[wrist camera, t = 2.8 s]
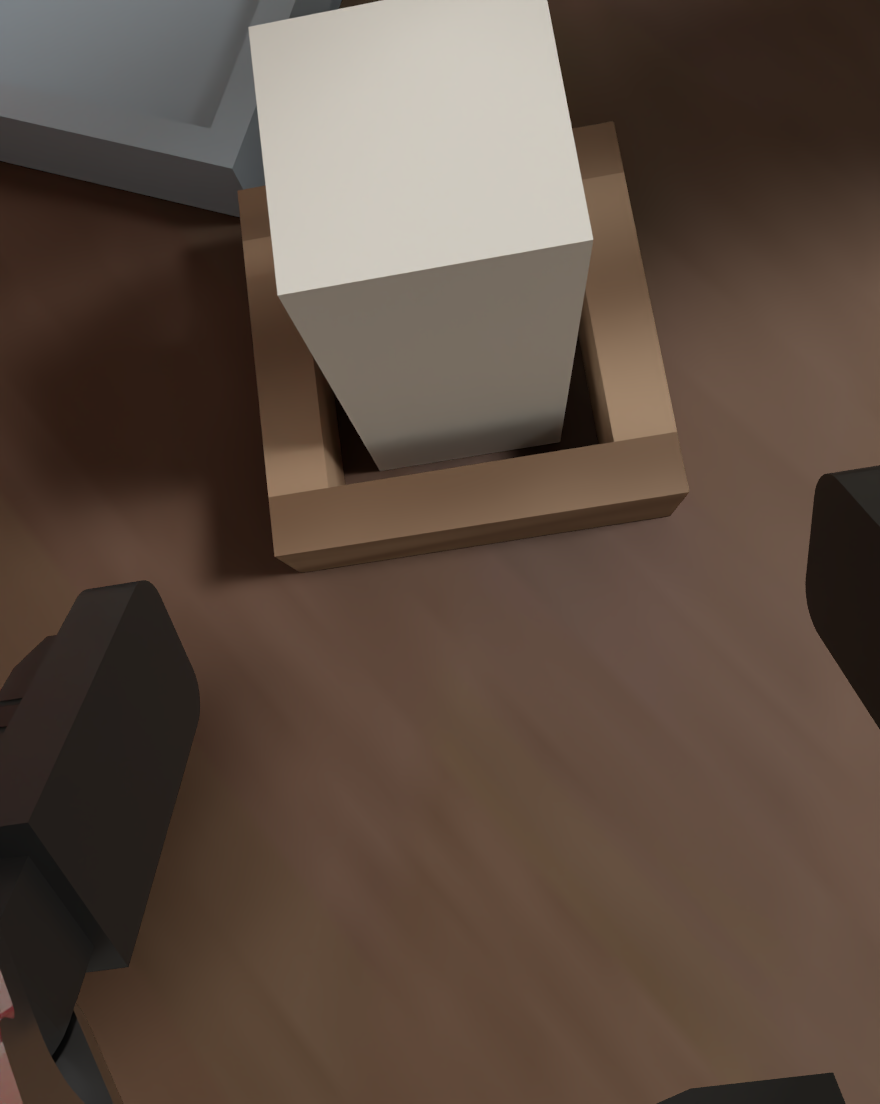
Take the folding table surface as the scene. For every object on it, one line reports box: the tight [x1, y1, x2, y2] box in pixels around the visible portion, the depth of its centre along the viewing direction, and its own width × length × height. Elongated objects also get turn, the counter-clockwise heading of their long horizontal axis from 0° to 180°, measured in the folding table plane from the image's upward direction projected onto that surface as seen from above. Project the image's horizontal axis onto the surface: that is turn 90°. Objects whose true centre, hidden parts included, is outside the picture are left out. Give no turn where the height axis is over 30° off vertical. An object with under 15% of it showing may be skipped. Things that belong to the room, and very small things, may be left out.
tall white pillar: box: [248, 0, 593, 471], centre depth 18 cm, size 6×5×10 cm
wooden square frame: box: [237, 121, 689, 573], centre depth 22 cm, size 10×10×2 cm
